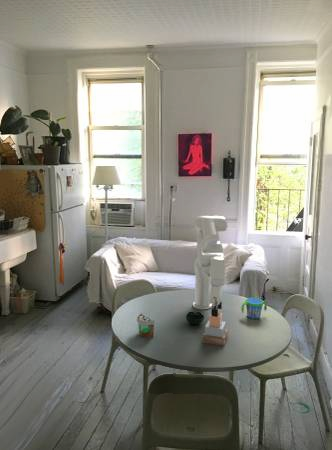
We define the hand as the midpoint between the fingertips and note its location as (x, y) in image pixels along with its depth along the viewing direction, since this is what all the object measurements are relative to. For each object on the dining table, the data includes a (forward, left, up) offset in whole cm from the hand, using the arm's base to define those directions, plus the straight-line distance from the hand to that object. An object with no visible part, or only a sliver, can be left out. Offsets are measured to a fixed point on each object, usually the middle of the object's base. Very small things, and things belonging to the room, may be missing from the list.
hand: (216, 312), depth 200 cm
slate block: (-1, 0, -12) cm, 12 cm away
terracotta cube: (-1, 0, -7) cm, 7 cm away
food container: (+7, -38, -16) cm, 42 cm away
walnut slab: (-1, 0, -16) cm, 16 cm away
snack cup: (-37, +15, -16) cm, 43 cm away
